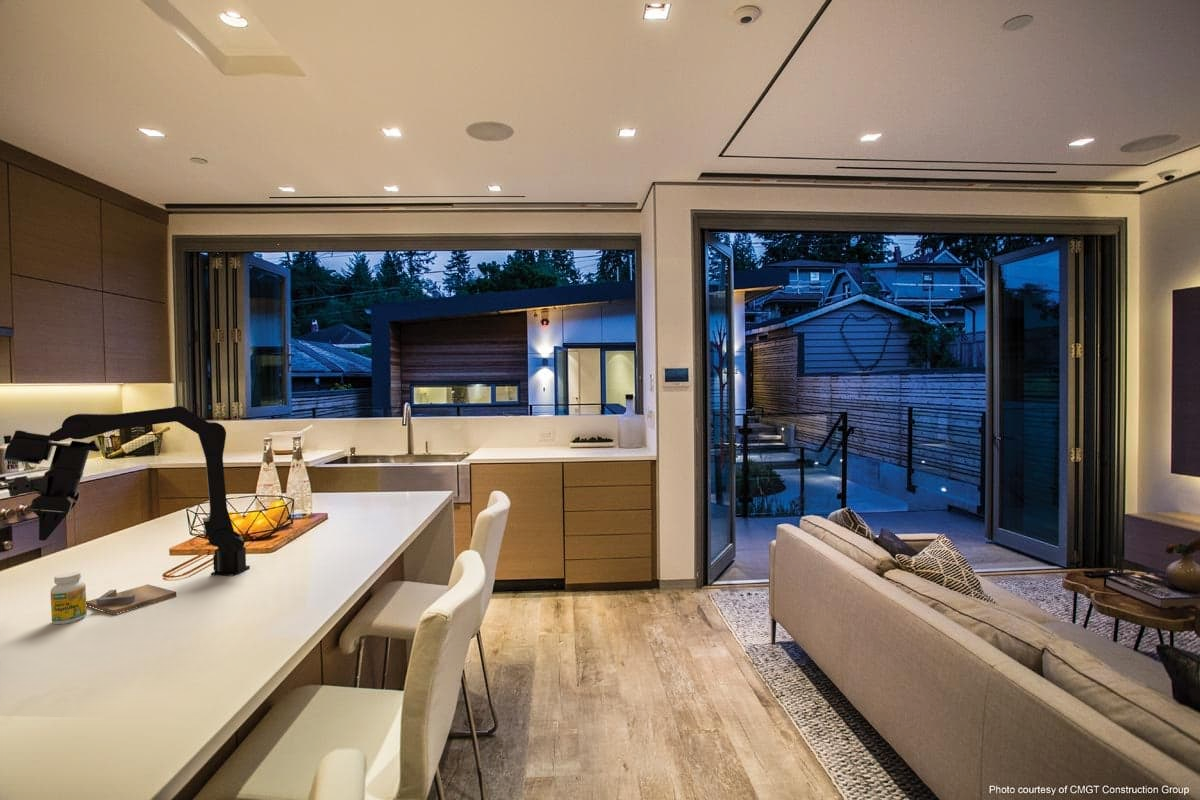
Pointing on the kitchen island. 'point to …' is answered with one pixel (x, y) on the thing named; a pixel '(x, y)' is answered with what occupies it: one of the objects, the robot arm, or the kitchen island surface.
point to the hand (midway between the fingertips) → (45, 536)
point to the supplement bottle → (68, 598)
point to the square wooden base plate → (130, 598)
